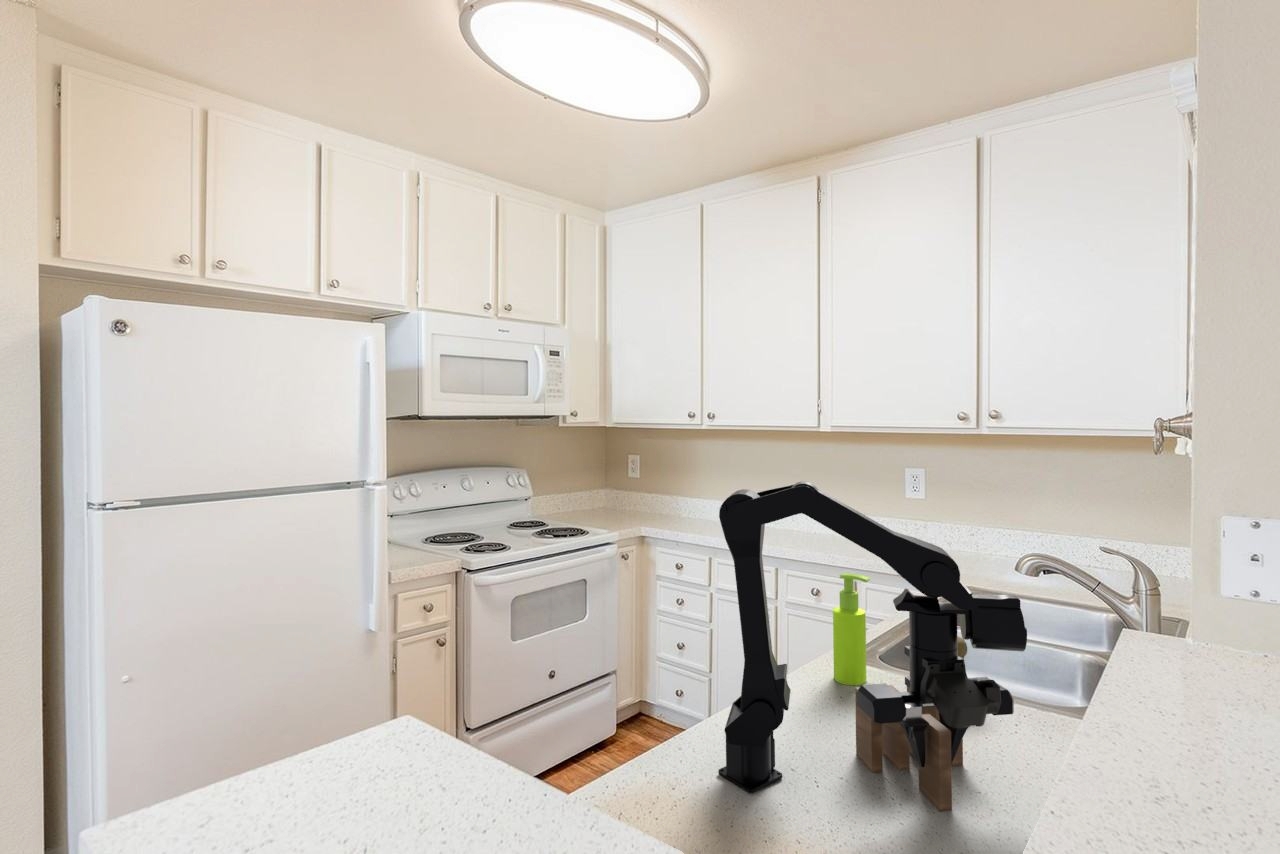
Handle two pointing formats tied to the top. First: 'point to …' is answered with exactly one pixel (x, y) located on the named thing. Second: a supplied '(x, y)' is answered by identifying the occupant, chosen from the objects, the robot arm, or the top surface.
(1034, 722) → the top surface
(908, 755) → the tile
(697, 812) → the top surface
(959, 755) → the tile
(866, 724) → the tile
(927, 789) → the tile
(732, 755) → the robot arm
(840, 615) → the soap dispenser
